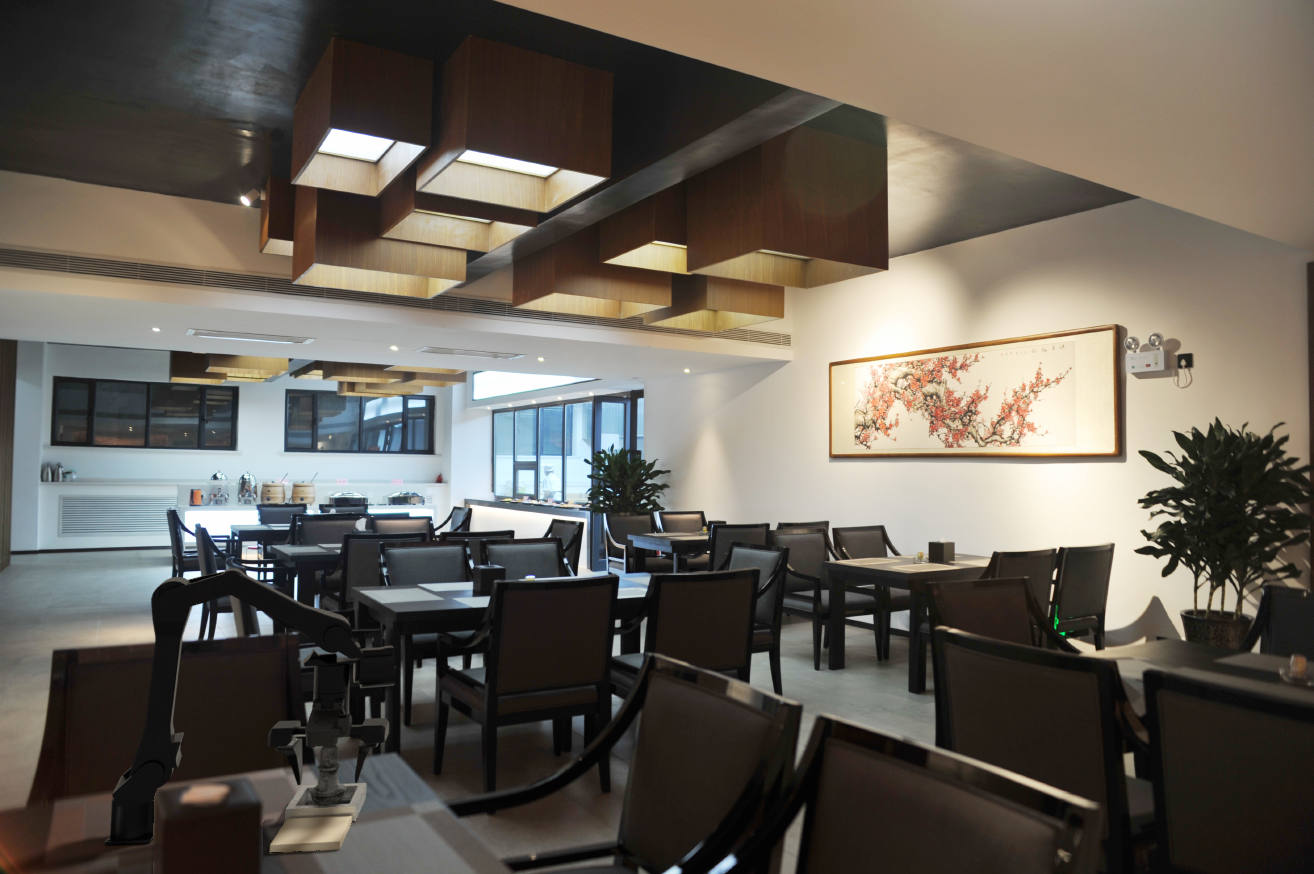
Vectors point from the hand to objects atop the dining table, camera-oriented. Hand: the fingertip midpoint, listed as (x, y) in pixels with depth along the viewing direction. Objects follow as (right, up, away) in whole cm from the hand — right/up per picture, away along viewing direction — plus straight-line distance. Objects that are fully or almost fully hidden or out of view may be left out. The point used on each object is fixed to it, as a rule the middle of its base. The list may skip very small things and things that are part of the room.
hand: (328, 783), depth 144 cm
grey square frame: (0, -5, 0) cm, 4 cm away
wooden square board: (+2, -4, -11) cm, 12 cm away
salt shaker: (0, -5, 0) cm, 5 cm away
